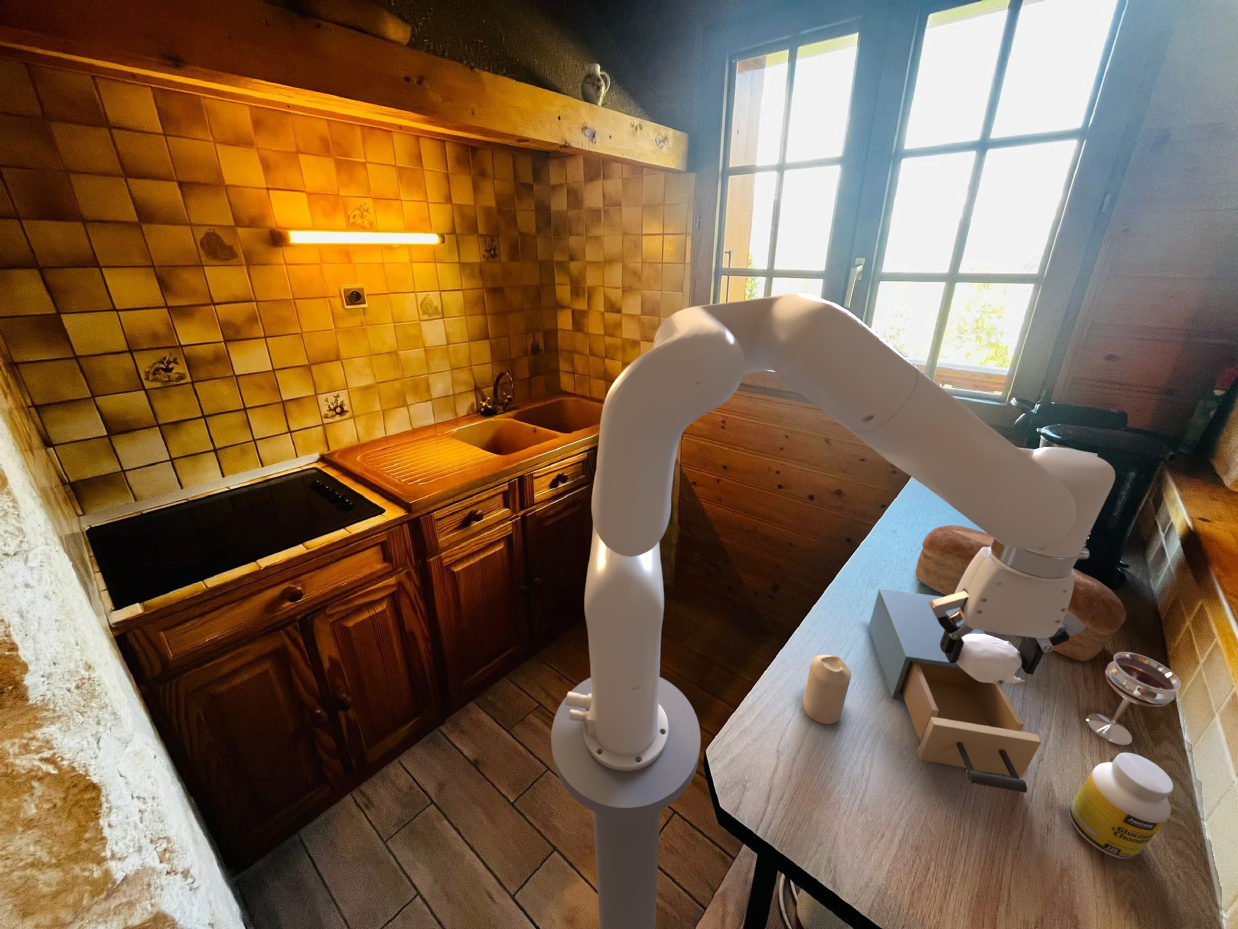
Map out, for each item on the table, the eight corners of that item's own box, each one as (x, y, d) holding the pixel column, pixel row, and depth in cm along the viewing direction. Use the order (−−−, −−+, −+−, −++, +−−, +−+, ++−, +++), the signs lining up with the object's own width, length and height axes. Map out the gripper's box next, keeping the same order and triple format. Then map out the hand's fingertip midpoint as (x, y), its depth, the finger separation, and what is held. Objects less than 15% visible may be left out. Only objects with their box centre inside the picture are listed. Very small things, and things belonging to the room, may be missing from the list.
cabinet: (988, 713, 75) (1008, 671, 71) (891, 698, 77) (905, 656, 73) (949, 638, 88) (964, 599, 84) (868, 627, 91) (879, 589, 87)
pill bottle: (1081, 850, 58) (1124, 791, 53) (1057, 796, 64) (1093, 738, 59) (1150, 870, 56) (1201, 811, 51) (1119, 812, 62) (1162, 754, 57)
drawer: (1043, 820, 60) (1066, 783, 57) (933, 798, 63) (949, 762, 60) (974, 688, 78) (989, 654, 75) (890, 675, 80) (901, 642, 77)
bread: (930, 558, 109) (947, 507, 104) (1112, 643, 87) (1147, 583, 81) (902, 579, 103) (919, 525, 97) (1091, 676, 80) (1127, 614, 75)
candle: (822, 688, 79) (833, 643, 75) (848, 717, 74) (861, 670, 70) (794, 700, 77) (804, 654, 73) (820, 730, 73) (832, 682, 68)
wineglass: (1153, 743, 70) (1195, 685, 65) (1118, 756, 68) (1159, 697, 63) (1100, 704, 76) (1134, 647, 71) (1067, 714, 74) (1100, 657, 69)
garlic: (993, 645, 68) (1002, 624, 67) (1031, 685, 62) (1042, 664, 60) (937, 646, 68) (944, 625, 66) (969, 687, 62) (978, 665, 60)
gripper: (1098, 542, 58) (1044, 649, 66) (937, 526, 62) (904, 630, 69) (1144, 582, 52) (1078, 696, 59) (961, 562, 55) (922, 672, 63)
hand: (985, 660), depth 64 cm, fingers closed on garlic, 8 cm apart
